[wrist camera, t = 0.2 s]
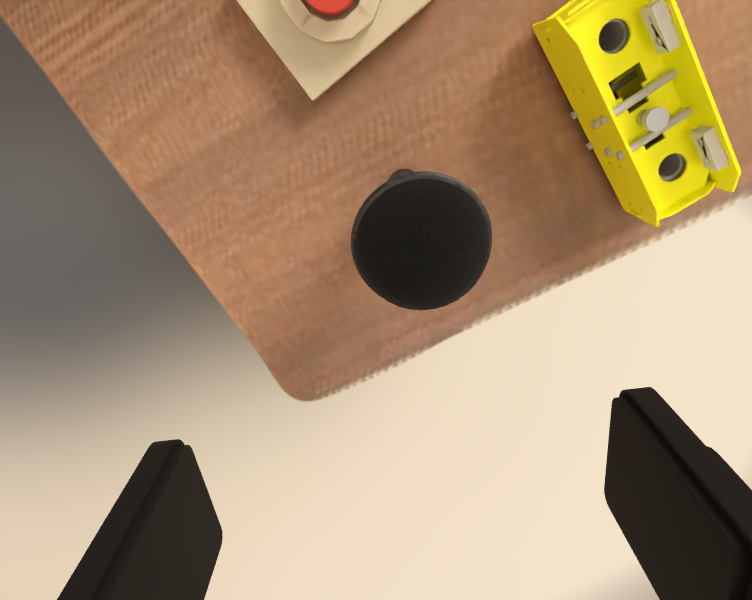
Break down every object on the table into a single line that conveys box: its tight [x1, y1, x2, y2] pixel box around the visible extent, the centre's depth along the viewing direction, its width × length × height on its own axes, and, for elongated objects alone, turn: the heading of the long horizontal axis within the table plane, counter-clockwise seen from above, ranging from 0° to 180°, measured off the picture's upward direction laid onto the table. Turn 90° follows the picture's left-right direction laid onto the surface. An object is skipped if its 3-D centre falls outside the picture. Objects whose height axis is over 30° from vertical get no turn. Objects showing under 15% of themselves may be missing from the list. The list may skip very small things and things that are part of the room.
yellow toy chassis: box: [532, 0, 741, 227], centre depth 33 cm, size 16×6×8 cm, turn 35°
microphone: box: [351, 169, 492, 310], centre depth 30 cm, size 7×7×20 cm
